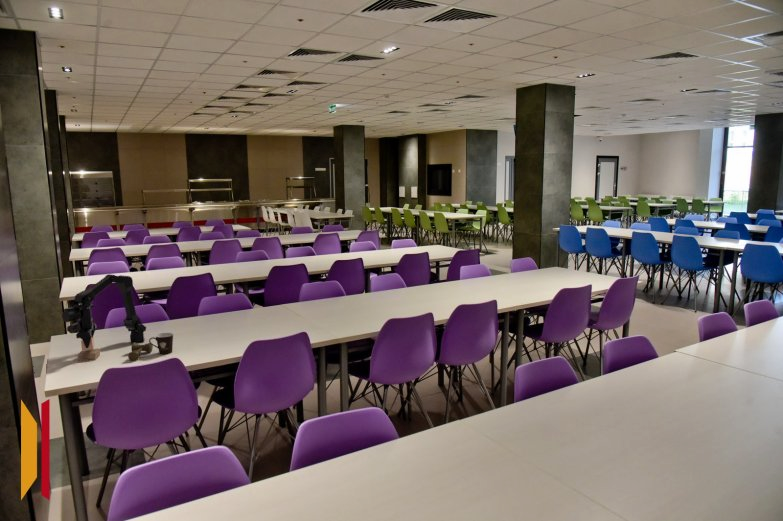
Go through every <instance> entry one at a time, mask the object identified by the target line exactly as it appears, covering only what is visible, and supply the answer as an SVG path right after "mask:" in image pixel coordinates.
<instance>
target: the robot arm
mask: <svg viewBox="0 0 783 521" xmlns="http://www.w3.org/2000/svg"><path fill="white" fill-rule="evenodd" d="M113 283H114V284H116V287H117V288H118V290H119V291H120V292H121V295H122V300H123V306H124V311H125V315H126V317H125V318H123V326H124V327H125V329H127V331H128V332H130V335H129V340H130V343H131V344H133V343H134V342H135V343H137V344H139V343H144V342H145V335H144V334H145V332H146V330H147V326H145V324H143V323H142V320H141V318H140V317H139V315H138V314H137V311H136V306H135V302H134V298H133V292H132V289H133V285H134V284H133V283H134V282H133V277H132V276H129V275H122V274H121V275H115V274H106V275H105V276H104V277H103V278H102V279H101V280H99V281H97V282H96V283H94V285H92V286H91V287H90V288H88V289H84V290H82V291H80V292H78V293H76V295H75V296H74V299H73V302H72V303H71V305H70V307H66V308H64V311H63V312H62V314H61V318H62V320H63V321H64V322H66V323H69V322H73V321H77V322H75V323H71V324H70V325H68V326H67V327H66V332H68V333H69V334H71V333H74V332H75V331H77V333H76V335H75V336H76V337H75V338H76V339H81V340H83V342H84V344H85V347H86V348H88V347H89V344H90V341H91V338H92V337H94V335H95V332H96V329H97V324H96V323H95V322H93V320H94V319H93V317H92V316H93V315H92V310H91V309H92V308H95V307H96V305H94V304H92V303H93V302H94V300H95V298H96V296H98V294H100V293H101V292H102V291H104V290H105V289H106V288H108V287H109V286H110V285H111V284H113Z"/></svg>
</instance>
